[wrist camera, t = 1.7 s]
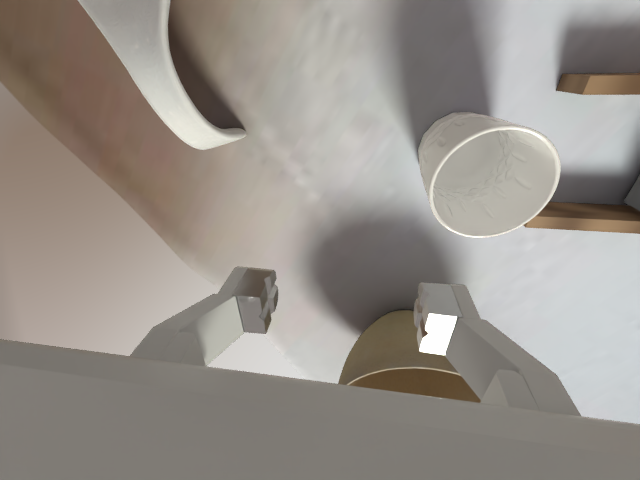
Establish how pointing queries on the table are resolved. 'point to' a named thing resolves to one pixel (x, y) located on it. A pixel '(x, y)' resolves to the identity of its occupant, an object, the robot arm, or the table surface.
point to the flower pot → (401, 362)
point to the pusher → (634, 195)
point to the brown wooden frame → (581, 213)
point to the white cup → (486, 173)
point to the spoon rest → (155, 66)
